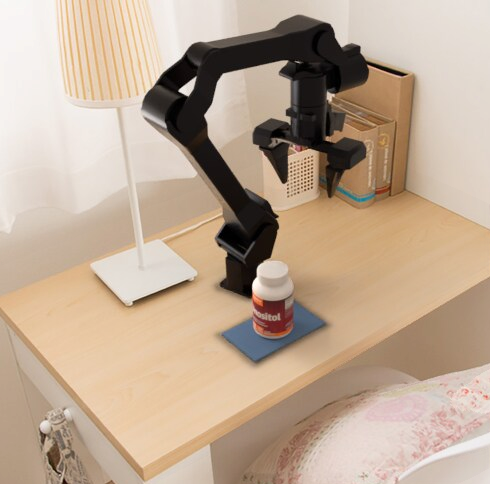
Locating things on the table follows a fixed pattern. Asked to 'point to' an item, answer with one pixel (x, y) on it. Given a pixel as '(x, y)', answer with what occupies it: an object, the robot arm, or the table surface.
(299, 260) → the table surface
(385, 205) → the table surface
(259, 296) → the pill bottle
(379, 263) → the table surface
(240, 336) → the napkin
